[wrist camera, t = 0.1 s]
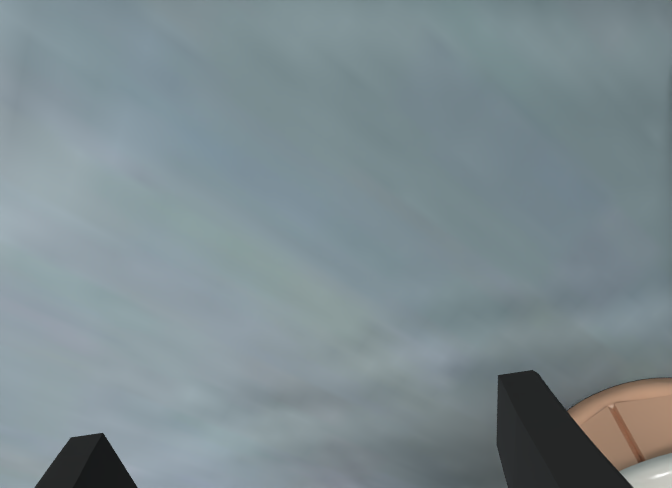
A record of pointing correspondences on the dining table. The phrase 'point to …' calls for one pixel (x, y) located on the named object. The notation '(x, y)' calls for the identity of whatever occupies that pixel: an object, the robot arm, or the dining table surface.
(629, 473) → the lid
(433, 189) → the dining table surface
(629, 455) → the bowl
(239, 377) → the dining table surface
